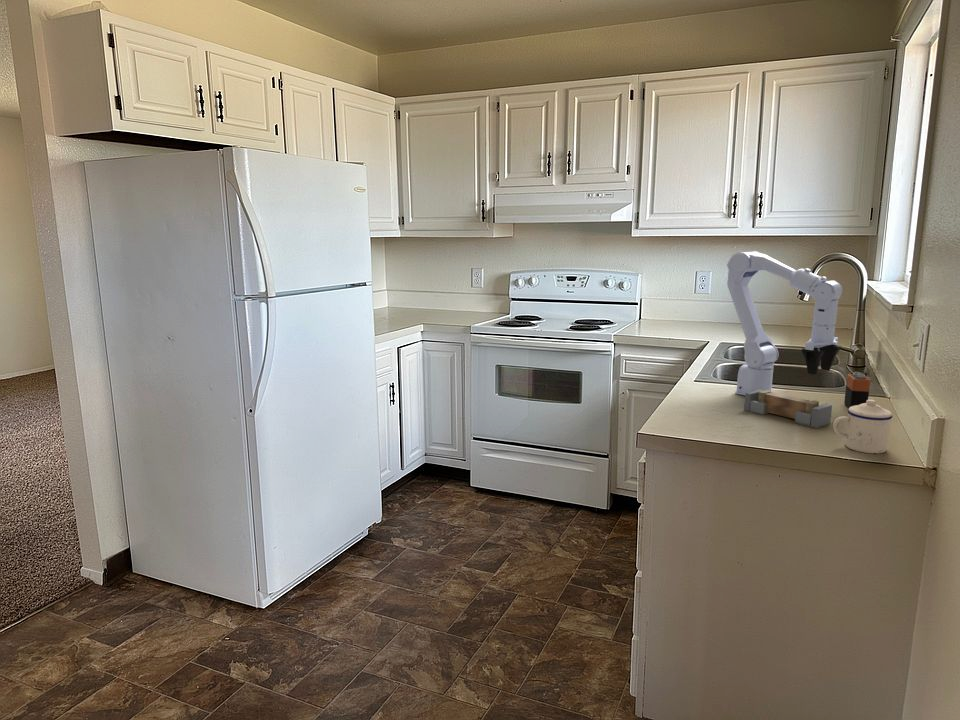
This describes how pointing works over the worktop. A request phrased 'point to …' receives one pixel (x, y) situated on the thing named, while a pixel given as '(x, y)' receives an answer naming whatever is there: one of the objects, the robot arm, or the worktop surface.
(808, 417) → the post slots
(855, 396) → the battery
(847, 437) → the teacup with lid
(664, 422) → the worktop surface
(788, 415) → the rail
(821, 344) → the robot arm
